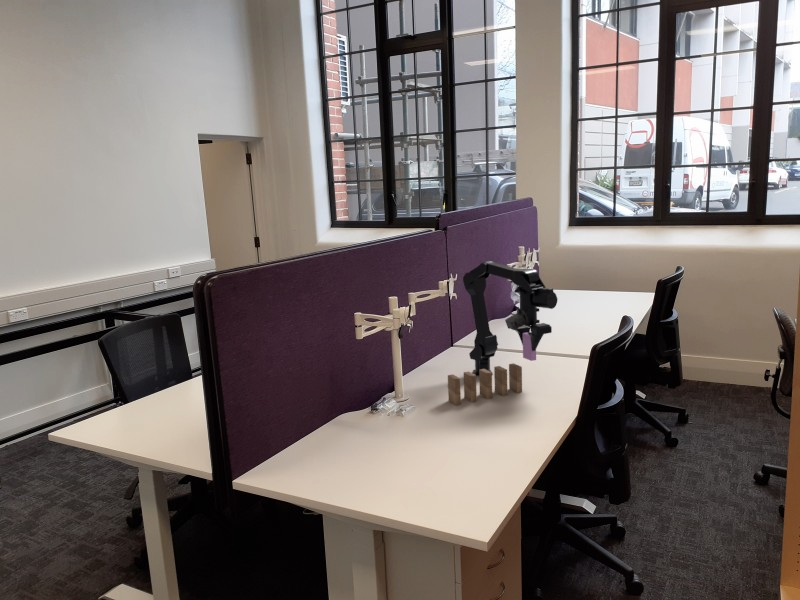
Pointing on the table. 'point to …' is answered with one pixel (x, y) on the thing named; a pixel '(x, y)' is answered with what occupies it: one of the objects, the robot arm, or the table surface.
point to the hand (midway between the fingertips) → (529, 349)
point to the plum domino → (528, 348)
